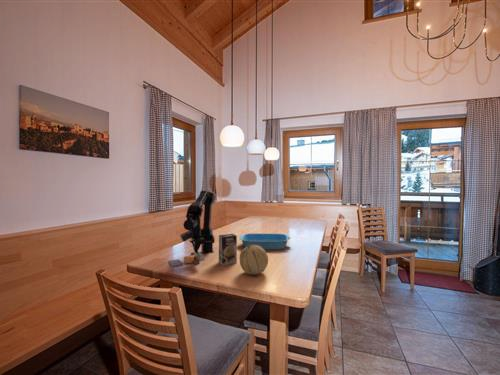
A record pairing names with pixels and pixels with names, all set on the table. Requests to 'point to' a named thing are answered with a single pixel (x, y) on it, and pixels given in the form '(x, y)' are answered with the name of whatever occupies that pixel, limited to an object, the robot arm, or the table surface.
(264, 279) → the table surface
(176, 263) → the mat
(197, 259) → the clamp blocks
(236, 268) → the table surface
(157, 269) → the table surface
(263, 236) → the casserole dish
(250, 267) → the cantaloupe
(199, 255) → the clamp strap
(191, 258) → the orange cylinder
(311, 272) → the table surface
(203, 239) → the robot arm
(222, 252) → the coffee box
